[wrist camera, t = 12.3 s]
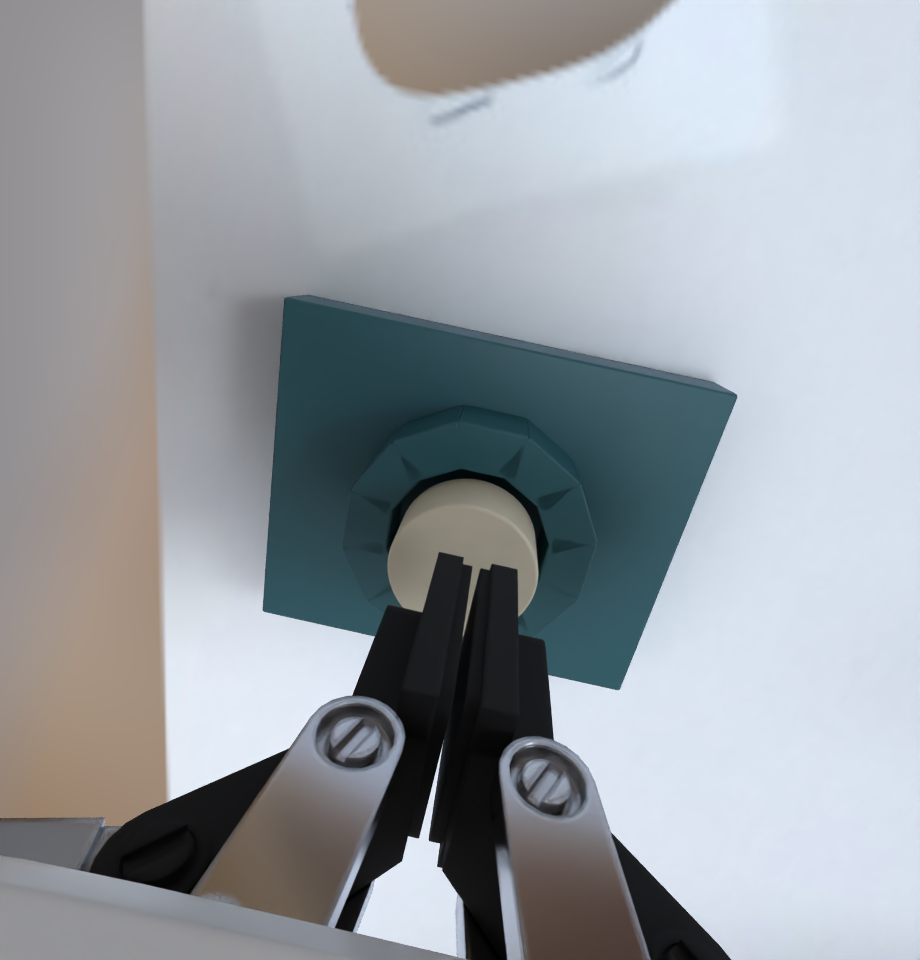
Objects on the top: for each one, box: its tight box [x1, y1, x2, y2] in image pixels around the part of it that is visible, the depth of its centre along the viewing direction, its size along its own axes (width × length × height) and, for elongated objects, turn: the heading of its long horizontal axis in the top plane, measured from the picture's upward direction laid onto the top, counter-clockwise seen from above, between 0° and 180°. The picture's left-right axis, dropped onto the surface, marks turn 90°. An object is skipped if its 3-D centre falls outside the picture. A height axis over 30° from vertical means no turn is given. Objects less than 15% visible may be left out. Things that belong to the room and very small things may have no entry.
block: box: [263, 295, 737, 690], centre depth 15 cm, size 12×10×4 cm
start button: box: [387, 479, 539, 636], centre depth 13 cm, size 4×4×2 cm
